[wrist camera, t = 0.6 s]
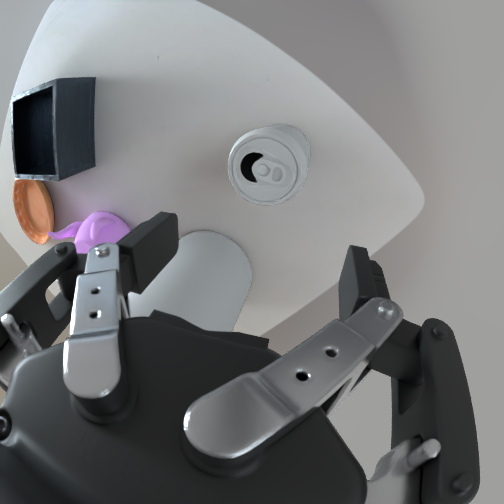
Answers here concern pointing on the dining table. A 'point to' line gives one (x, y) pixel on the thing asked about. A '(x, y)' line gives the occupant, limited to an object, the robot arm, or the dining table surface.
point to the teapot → (94, 231)
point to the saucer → (33, 209)
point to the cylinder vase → (200, 283)
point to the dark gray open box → (54, 129)
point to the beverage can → (269, 164)
